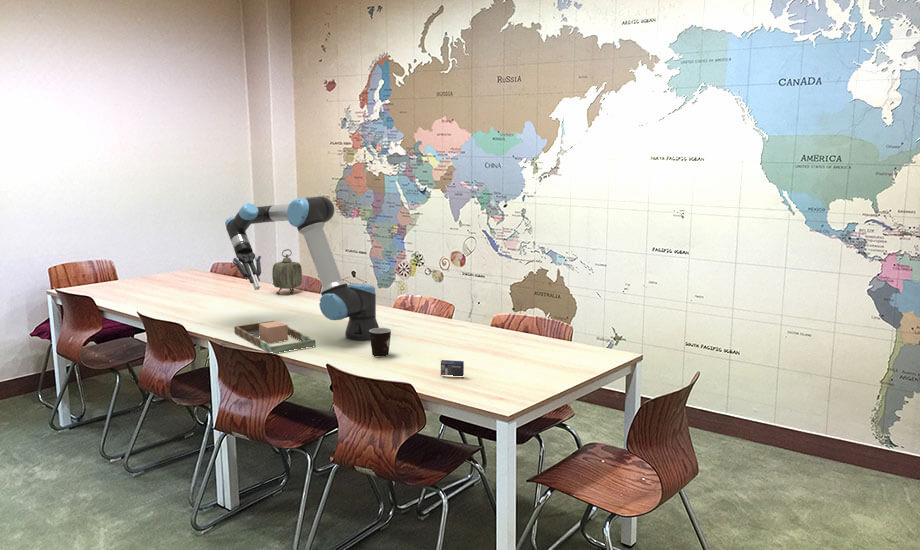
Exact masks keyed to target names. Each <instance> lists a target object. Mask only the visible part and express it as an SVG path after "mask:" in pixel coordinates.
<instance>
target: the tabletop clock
mask: <svg viewBox="0 0 920 550" xmlns="http://www.w3.org/2000/svg"><path fill="white" fill-rule="evenodd" d="M286 251H289V252H290V254H285V255H284V252H286ZM292 254H293V253H292V250H291V249H289V248H287V249H284V250H282V252H281V256H282V257H284V258H283V259H282V261H279V262H276V263H273V265H272V275H271V276H272V284H273V286H274V288H279V290H278V291H276V295H277V296H279V295H280V291H282V290H283V289H285V290H289V295H293V293H294V291H295V289H294V288H297V287H299V286H301V285H302V283H303V271H302V270H303V269H302V268H303V267H302V265H301V263H299V262H297V261H292V260H293V259H292V258H290V256H291V255H292Z"/></svg>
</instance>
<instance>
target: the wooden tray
mask: <svg viewBox="0 0 920 550" xmlns="http://www.w3.org/2000/svg"><path fill="white" fill-rule="evenodd" d="M275 321H276V320H272V321H271V320H270V321H263V322H257V323H249V324H243V325H236V326H234V333H235V335H237V336H239V337H241V338H242V339H244V340H246V341H247V342H250V343H251V344H253V345H255V346H257V347H259V348H260V349H262V350H263V351H266V352H267V351H268V352H267V353H269V352H273V353H277V354H280V353H279V352H283V353H285V352H284V351H289V350H294V349H301V348H306V347H312V348H314V347H313V346H316V339H315V338H312V337H310V336H308V335H306V334H304V333H302V332H300V331H297V330H296V329H293V328H291V327H289V326H288V336H290V335H291V336H290V337H292V336H293V337H292V338H294V337H295V338H294V339H296V338H297V339H296V340H298V339H299V340H298V341H297V342H291V343H285V344H279V345H272V344H271V343H270V344H268V343H266V342H265V341H263V340H261V339H260V337H259V324H261V323H268V322H275ZM254 333H255V334H254ZM300 340H301V341H300ZM301 350H302V349H301ZM289 352H290V351H289Z"/></svg>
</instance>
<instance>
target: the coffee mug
mask: <svg viewBox="0 0 920 550" xmlns="http://www.w3.org/2000/svg"><path fill="white" fill-rule="evenodd" d="M369 332H370V340H369V341H370V346H371V354H372V356H373V355H374V356H373V357H375V356H385V357H387V356H386V355H388V354H389V353H390V343H391V335H392V330H391V329H390V328H387V327H379V328H374V329H371V330H369ZM388 356H389V355H388Z"/></svg>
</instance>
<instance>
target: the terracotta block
mask: <svg viewBox="0 0 920 550" xmlns="http://www.w3.org/2000/svg"><path fill="white" fill-rule="evenodd" d="M274 321H275V322H269V321H267V322H268V323H262V322H260V323H261V324H259V336H260V337H259V339H261V340H263V341H265V342H266V343H268V344H269V343H270V344H275V343H274V342H276V343H279V341H282V342H285V341H284V340H288V341H289V335H288V327H289V326H288V324H286V323H284V322H282V321H280V320H274Z"/></svg>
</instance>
